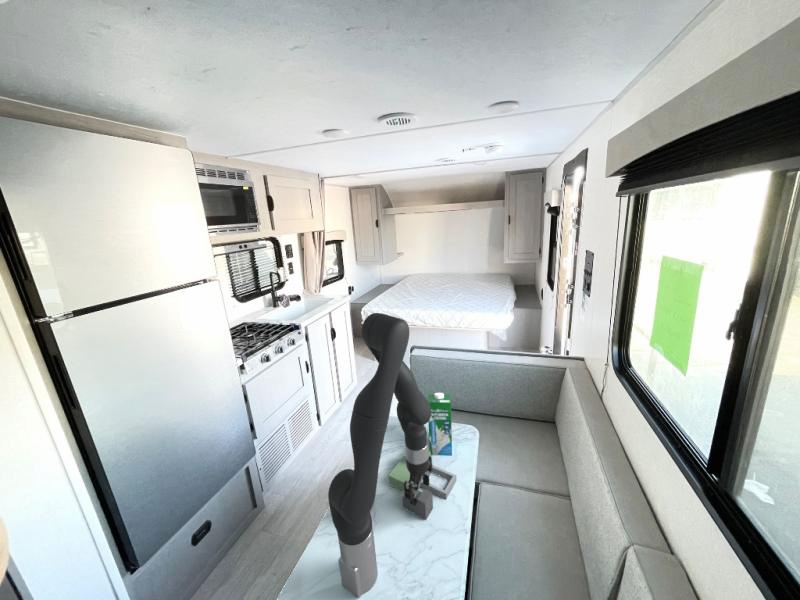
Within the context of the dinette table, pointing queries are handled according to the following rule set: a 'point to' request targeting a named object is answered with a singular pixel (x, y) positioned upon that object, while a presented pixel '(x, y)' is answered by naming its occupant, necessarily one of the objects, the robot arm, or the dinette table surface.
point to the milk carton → (440, 424)
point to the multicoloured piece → (402, 475)
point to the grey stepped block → (420, 503)
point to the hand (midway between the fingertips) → (420, 493)
